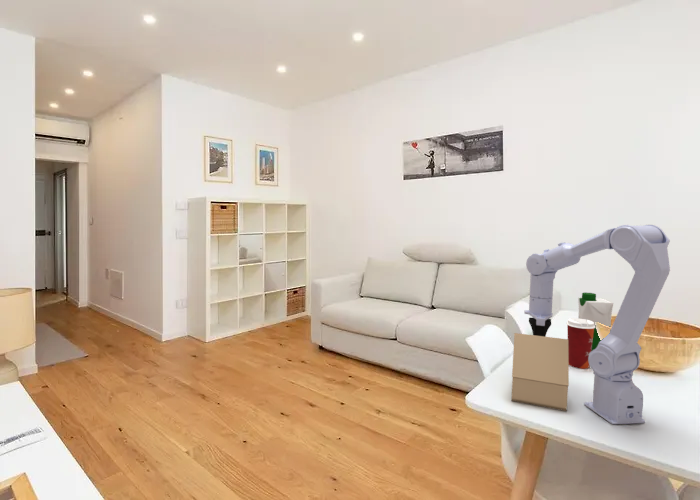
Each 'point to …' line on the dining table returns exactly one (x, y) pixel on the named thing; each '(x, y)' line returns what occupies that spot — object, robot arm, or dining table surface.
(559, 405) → the carton
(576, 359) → the paper cup
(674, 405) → the dining table surface
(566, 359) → the carton lid
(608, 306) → the milk carton
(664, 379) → the dining table surface
